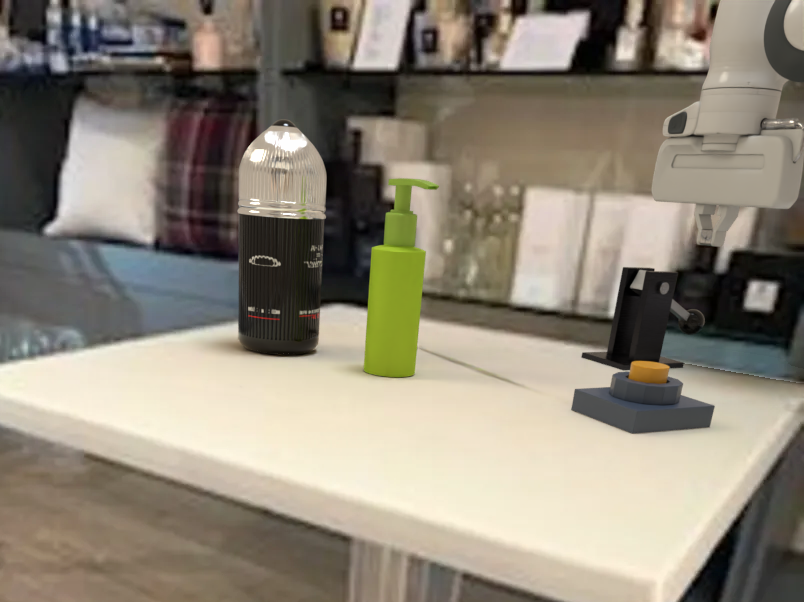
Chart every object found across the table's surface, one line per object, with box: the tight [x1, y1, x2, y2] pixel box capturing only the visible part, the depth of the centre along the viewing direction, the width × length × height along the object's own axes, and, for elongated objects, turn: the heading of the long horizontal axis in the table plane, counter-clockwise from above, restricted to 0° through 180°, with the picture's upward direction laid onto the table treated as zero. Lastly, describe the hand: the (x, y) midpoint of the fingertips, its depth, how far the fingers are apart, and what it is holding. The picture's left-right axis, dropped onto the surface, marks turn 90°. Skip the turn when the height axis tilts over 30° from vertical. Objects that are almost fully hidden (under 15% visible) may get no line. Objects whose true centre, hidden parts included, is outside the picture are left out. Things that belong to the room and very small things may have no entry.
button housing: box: [570, 371, 716, 435], centre depth 86 cm, size 10×9×4 cm
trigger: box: [630, 270, 706, 336], centre depth 111 cm, size 13×3×3 cm, turn 116°
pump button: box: [628, 361, 671, 384], centre depth 85 cm, size 4×4×2 cm
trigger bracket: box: [581, 266, 685, 371], centre depth 110 cm, size 10×8×12 cm
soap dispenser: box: [363, 177, 440, 378], centre depth 95 cm, size 6×7×20 cm
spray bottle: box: [236, 118, 328, 356], centre depth 103 cm, size 10×10×25 cm
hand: (709, 245), depth 110 cm, fingers closed
